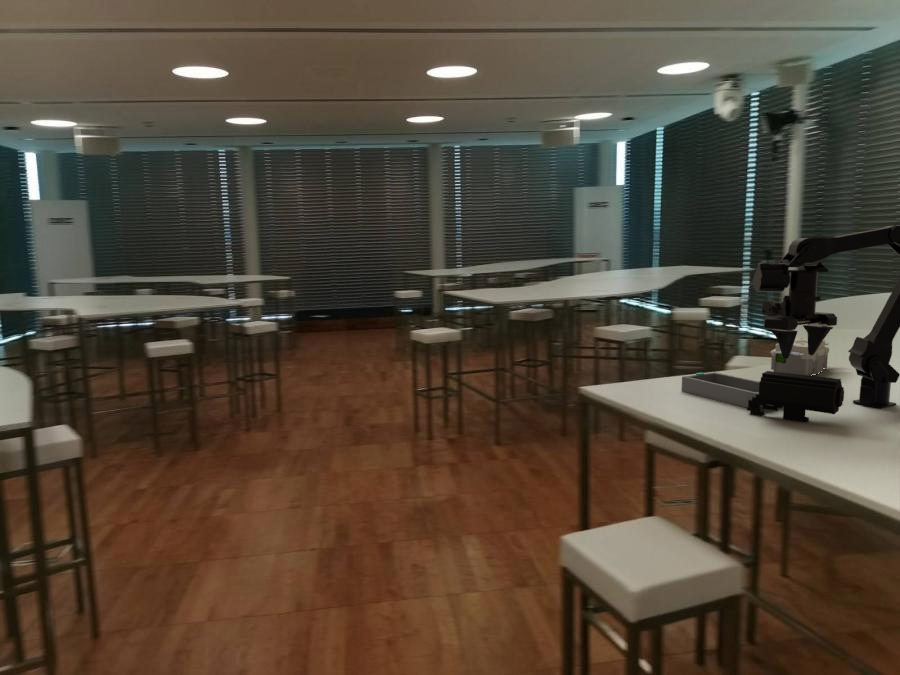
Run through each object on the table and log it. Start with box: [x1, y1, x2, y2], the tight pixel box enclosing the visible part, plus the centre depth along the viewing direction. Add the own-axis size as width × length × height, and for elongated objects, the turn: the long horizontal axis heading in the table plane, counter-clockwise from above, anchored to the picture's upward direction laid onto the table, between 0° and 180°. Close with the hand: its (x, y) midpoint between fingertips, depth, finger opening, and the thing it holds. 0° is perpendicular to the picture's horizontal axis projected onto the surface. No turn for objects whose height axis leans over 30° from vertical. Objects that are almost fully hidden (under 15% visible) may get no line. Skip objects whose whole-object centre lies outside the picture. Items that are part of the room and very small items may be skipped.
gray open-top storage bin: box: [681, 372, 773, 410], centre depth 159 cm, size 12×23×4 cm, turn 26°
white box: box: [769, 337, 830, 376], centre depth 186 cm, size 12×28×10 cm, turn 136°
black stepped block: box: [746, 370, 845, 424], centre depth 138 cm, size 7×18×10 cm, turn 47°
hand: (798, 356), depth 149 cm, fingers open, 9 cm apart
